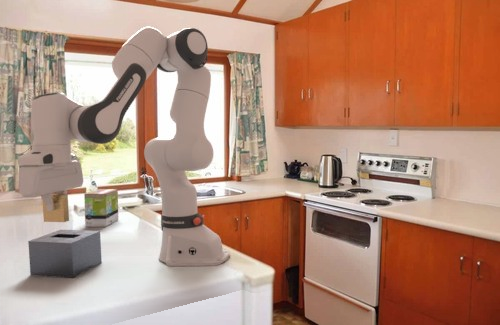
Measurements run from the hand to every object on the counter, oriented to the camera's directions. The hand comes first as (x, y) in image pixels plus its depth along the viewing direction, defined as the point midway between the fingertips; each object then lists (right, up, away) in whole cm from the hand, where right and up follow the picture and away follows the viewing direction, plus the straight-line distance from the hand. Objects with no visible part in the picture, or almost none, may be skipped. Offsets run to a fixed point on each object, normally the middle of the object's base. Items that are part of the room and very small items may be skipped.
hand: (55, 209), depth 108 cm
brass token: (0, -3, 0) cm, 3 cm away
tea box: (-16, -16, +80) cm, 83 cm away
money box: (-4, -20, +17) cm, 26 cm away
